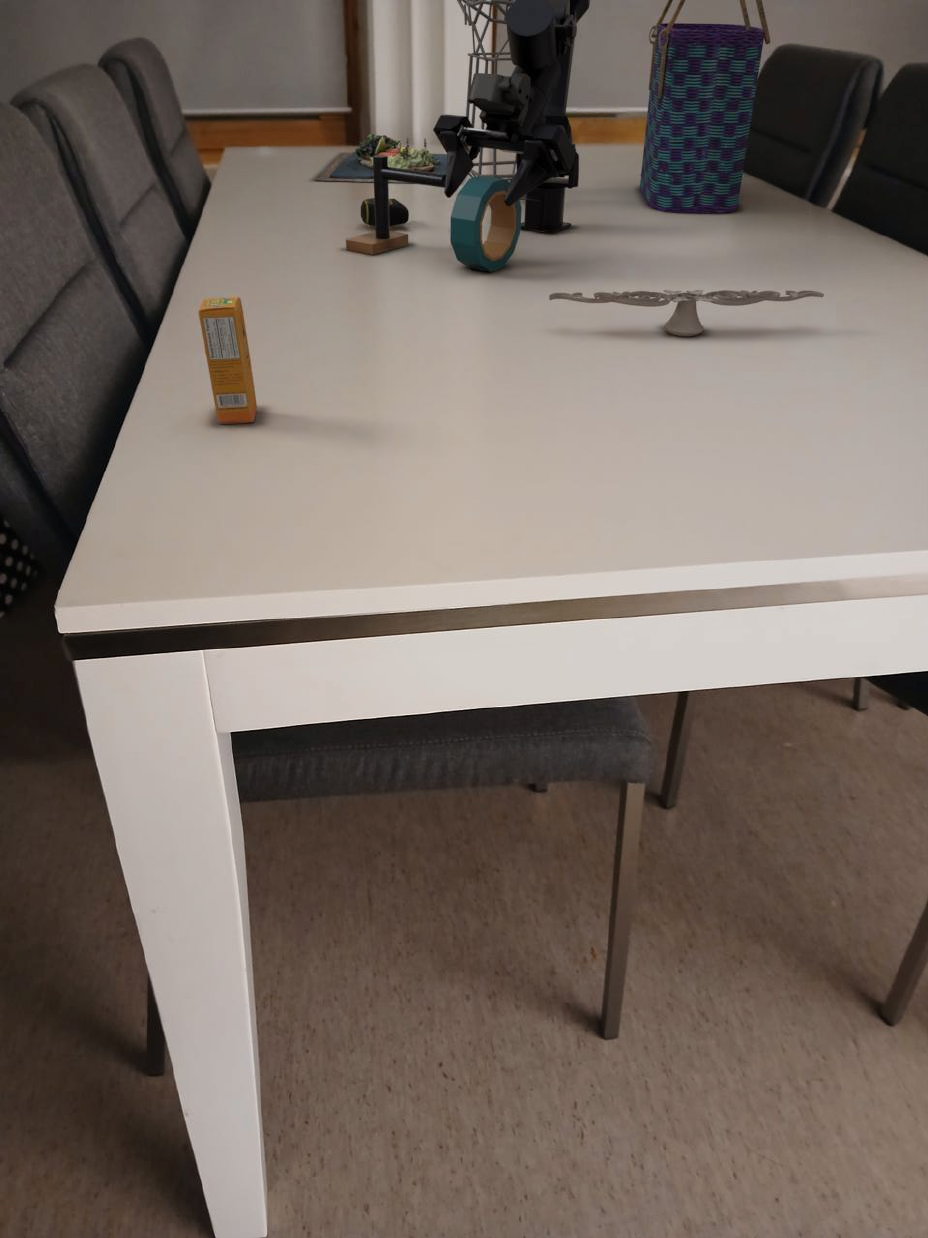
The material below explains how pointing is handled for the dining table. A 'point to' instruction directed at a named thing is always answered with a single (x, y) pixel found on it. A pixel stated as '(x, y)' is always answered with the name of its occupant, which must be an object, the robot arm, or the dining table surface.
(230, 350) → the supplement box
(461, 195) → the tape roll
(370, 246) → the hook base
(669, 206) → the basket
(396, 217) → the tape measure
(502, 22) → the geometric lantern
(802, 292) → the wall hook
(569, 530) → the dining table surface
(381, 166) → the hook
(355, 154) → the plated dish
